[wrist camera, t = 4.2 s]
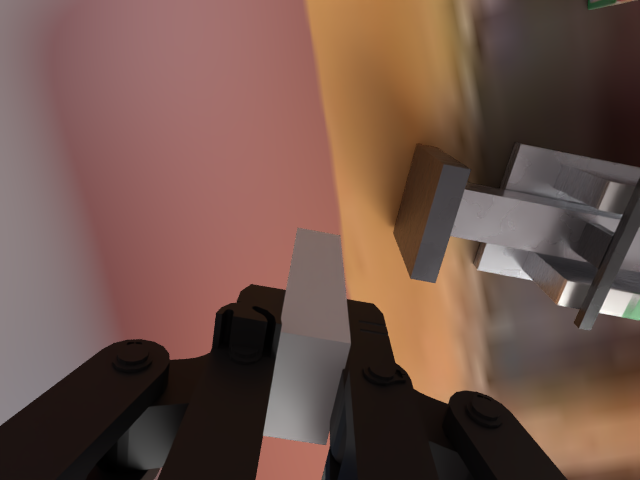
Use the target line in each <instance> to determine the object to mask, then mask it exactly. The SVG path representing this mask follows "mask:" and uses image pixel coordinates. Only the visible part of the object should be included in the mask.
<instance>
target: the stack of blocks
mask: <svg viewBox="0 0 640 480" xmlns="http://www.w3.org/2000/svg"><path fill="white" fill-rule="evenodd" d="M631 1H635V0H588V10H593V9H598V8H602V7H607V6H612V5H616V4H621V3H626V2H631Z"/></svg>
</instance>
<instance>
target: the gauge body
mask: <svg viewBox="0 0 640 480" xmlns="http://www.w3.org/2000/svg"><path fill="white" fill-rule="evenodd" d="M639 178H640V167H636V166H631V165H626V164H621V163H616V162H611V161H606V160H601V159H597V158H592V157H587V156H582V155H577V154H572V153H567V152H562V151H557V150H552V149H547V148H542V147H537V146H532V145H527V144H522V143H517V142H515V144H514V147H513V150H512V153H511V155H510V158H509V161H508V164H507V167H506V170H505V173H504V176H503V179H502V182H501V185H500V188H499V189H504V190H509V191H514V192H519V193H524V194H529V195H535V196H540V197H545V198H550V199H555V200H560V201H565V202H570V203H575V204H580V205H585V206H590V207H594V208H596V209H598V210H602V211H607V212H612V213H617V214H622V215H623V213H624V211H625V209H626V206H627V204H628V202H629V200H630V198H631V195H632V193H633V191H634V189H635V186H636V184H637V182H638V180H639ZM473 265H474V266H475V267H476V269H477V270H481V271H486V272H491V273H497V274H502V275H507V276H513V277H518V278H523V279H528V280H533V281H534V282H535V283H536V284H537V285H538V286H539V287H540V288H541V289H542V290H543V291H544V292H545V293H546V294H547V295H548V296H549V297H550V298H551V299H552V300H553V301H554V302H555V303H556V304H557V305H561V306H566V307H571V308H576V309H580V308H581V306H582V303H583V301H584V299H585V297H586V295H587V292H588V290H589V288H590V286H591V284H592V281H593V279H594V277H595V275H596V273H597V270H598V269H597V268H596V267H595V266H593V265H592V264H590V263H589V262H583V261H578V260H573V259H568V258H563V257H557V256H552V255H547V254H542V253H537V252H531V251H526V250H521V249H516V248H511V247H505V246H500V245H495V244H490V243H485V242H481V243H480V246H479V249H478V252H477V255H476V258H475V261H474V264H473ZM599 313H603V314H608V315H614V316H619V317H624V318H630V319H635V320H640V272H635V271H630V270H625V269H619V271H618V273H617V275H616V278H615V280H614V282H613V284H612V286H611V288H610V290H609V292H608V294H607V297H606V299H605V301H604V303H603V305H602V307H601V309H600V311H599Z"/></svg>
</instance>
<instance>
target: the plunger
mask: <svg viewBox="0 0 640 480" xmlns="http://www.w3.org/2000/svg"><path fill="white" fill-rule="evenodd" d="M470 171H471V169H469V168H468V167H466V166H465V165H463V164H462V163H460V162H459V161H457V160H455V159H454V158H452V157H451V156H449V155H448V154H446V153H445V152H443V151H442V150H440V149H439V148H437V147H432V146H427V145H422V144H417V145H416V148H415V152H414V156H413V160H412V164H411V167H410V171H409V175H408V179H407V182H406V186H405V190H404V194H403V198H402V201H401V205H400V209H399V213H398V217H397V220H396V224H395V228H394V232H393V234H394V236H395V239H396V242H397V244H398V247H399V250H400V252H401V255H402V257H403V260H404V263H405V265H406V268H407V271H408V273H409V276H410V278H411V279H416V280H421V281H427V282H432V283H436V279H437V276H438V273H439V270H440V267H441V263H442V260H443V257H444V254H445V251H446V248H447V244H448V241H449V238H450V236H453V237H459V238H464V239H469V240H474V241H479V242H485V243H490V244H495V245H500V246H505V247H511V248H516V249H521V250H526V251H531V252H537V253H542V254H547V255H552V256H557V257H563V258H568V259H573V260H578V261H583V262H589V263H590V264H592V265H593V266H595V267H596V268H597V269H598V270H597V273H596V275H595V277H594V279H593V281H592V284H591V286H590V288H589V290H588V292H587V295H586V297H585V299H584V301H583V303H582V306H581V308H580V310H579V312H578V314H577V317H576V319H575V321H574V324H575V325H576V326H577V327H578V328H580V329H585V330H591V328H592V326H593V324H594V322H595V320H596V318H597V316H598V314H599V311H600V309H601V307H602V305H603V303H604V301H605V299H606V297H607V294H608V292H609V290H610V288H611V286H612V284H613V282H614V280H615V278H616V275H617V273H618V271H619V269H625V270H630V271H635V272H640V178H639V180H638V182H637V184H636V186H635V189H634V191H633V193H632V195H631V198H630V200H629V202H628V204H627V206H626V209H625V211H624V213H623V215H622V214H617V213H612V212H607V211H602V210H598V209H596V208H594V207H590V206H585V205H580V204H575V203H570V202H565V201H560V200H555V199H550V198H545V197H540V196H535V195H529V194H524V193H519V192H514V191H509V190H504V189H499V188H494V187H489V186H484V185H479V184H474V183H468V182H467V181H468V177H469V174H470Z"/></svg>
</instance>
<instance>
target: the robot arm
mask: <svg viewBox="0 0 640 480" xmlns="http://www.w3.org/2000/svg"><path fill="white" fill-rule="evenodd" d="M329 431H330V449H329V452H328V456H327V460H326V464H325V468H324V472H323V476H322V480H567V479H566V477H565V476H564V475H563V474H562V473H561V471H560V470H559V469H558V468H557V467H556V465H555V464H554V463H553V462H552V461H551V460H550V458H549V457H548V456H547V455H546V454H545V452H544V451H543V450H542V449H541V448H540V446H539V445H538V444H537V443H536V442H535V440H534V439H533V438H532V437H531V436H530V434H529V433H528V432H527V431H526V430H525V429H524V427H523V426H522V425H521V424H520V423H519V421H518V420H517V419H516V418H515V417H514V415H513V414H512V413H511V412H510V411H509V410H508V409H507V408H506V407H504V406H503V405H502V404H501V403H499V402H498V401H496V400H494V399H493V398H491V397H489V396H487V395H484V394H482V393H478V392H473V391H460V392H456V393H455V394H454V395H453V396H451V397H450V400H449V403H448V404H446V403H444V402H441V401H439V400H436V399H433V398H431V397H428V396H426V395H424V394H422V393H420V392H418V391H416V390H415V389H413V385H412V382H411V379H410V377H409V376H408V374H407V372H406V371H405V370H404V369H403V368H401V367H400V366H399V365H398V364H396V363H395V360H394V356H393V352H392V348H391V344H390V340H389V336H388V332H387V328H386V324H385V320H384V316H383V313H382V312H381V311H380V310H379V309H378V308H377V307H376V306H375V305H374V304H372V303H366V302H360V301H354V300H349V299H347V298H346V288H345V278H344V268H343V258H342V248H341V238H340V235H335V234H329V233H324V232H318V231H313V230H307V229H302V228H298V229H297V233H296V239H295V245H294V250H293V255H292V261H291V266H290V272H289V277H288V283H287V288H286V290H283V289H277V288H271V287H265V286H259V285H253V284H251V285H250V286H248V287H246V288H245V289H244V290H242V291H241V292H240V295H239V297H238V300H237V303H230V304H228V305H226V306H224V307H221V309H220V310H219V311H218V312H217V313H216V318H215V327H214V335H213V344H212V349H211V352H210V353H208V354H206V355H204V356H200V357H197V358H190V359H179V360H170V359H169V353H168V352H167V350H166V349H165V348H164V347H163V346H161V345H159V344H157V343H155V342H152V341H147V340H142V339H136V340H125V341H121V342H117V343H113V344H112V345H110V346H108V347H106V348H104V349H102V350H101V351H99V352H98V353H97V354H95V355H94V356H93V357H92V358H90V359H89V360H87V361H86V362H85V363H83V364H82V365H81V366H79V367H78V368H77V369H75V370H74V371H73V372H71V373H70V374H69V375H67V376H66V377H65V378H64V379H62V380H61V381H59V382H58V383H57V384H55V385H54V386H53V387H51V388H50V389H49V390H47V391H46V392H45V393H43V394H42V395H41V396H39V397H38V398H37V399H36V400H34V401H33V402H31V403H30V404H29V405H28V406H26V407H25V408H23V409H22V410H21V411H19V412H18V413H17V414H15V415H14V416H13V417H11V418H10V419H9V420H7V421H6V422H5V423H3V424H2V425H1V426H0V480H154V479H155V477H156V476H157V474H158V472H159V470H160V468H161V467H163V468H162V470H161V473H160V475H159V477H158V480H255V479H256V473H257V467H258V462H259V456H260V449H261V444H262V438H263V436H269V437H276V438H283V439H289V440H295V441H302V442H309V443H315V444H322V445H326V443H327V439H328V434H329Z"/></svg>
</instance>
